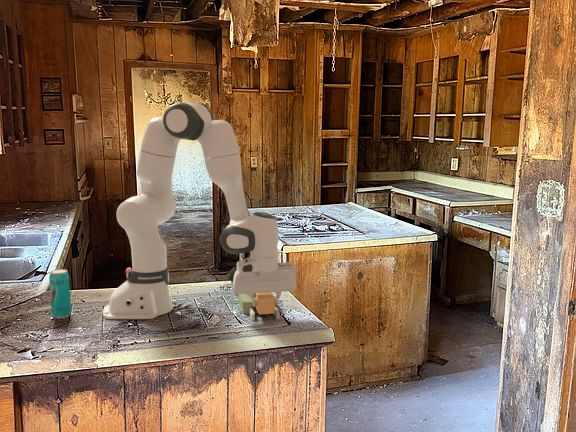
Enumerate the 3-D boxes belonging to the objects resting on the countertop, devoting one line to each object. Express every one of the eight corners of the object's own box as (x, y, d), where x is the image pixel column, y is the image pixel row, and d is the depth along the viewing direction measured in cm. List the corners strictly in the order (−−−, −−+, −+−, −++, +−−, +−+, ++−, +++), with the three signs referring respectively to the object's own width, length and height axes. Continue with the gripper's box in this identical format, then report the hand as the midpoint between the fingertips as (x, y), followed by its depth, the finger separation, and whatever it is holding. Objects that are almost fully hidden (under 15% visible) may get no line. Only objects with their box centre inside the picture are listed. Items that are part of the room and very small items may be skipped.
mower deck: (245, 321, 169) (245, 293, 167) (238, 300, 189) (237, 275, 187) (279, 318, 171) (279, 291, 170) (268, 298, 191) (268, 274, 189)
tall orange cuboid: (258, 314, 168) (258, 299, 167) (255, 307, 175) (255, 292, 174) (274, 313, 169) (274, 298, 168) (270, 306, 176) (270, 291, 175)
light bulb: (232, 296, 193) (232, 270, 191) (227, 292, 198) (226, 266, 196) (247, 294, 195) (246, 268, 194) (241, 290, 200) (240, 264, 199)
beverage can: (49, 316, 172) (45, 271, 170) (66, 312, 176) (63, 267, 174) (56, 320, 168) (53, 274, 166) (74, 316, 172) (71, 271, 170)
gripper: (294, 259, 175) (294, 300, 177) (231, 262, 171) (232, 304, 173) (298, 264, 168) (298, 306, 171) (233, 267, 164) (234, 310, 167)
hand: (264, 305), depth 172 cm, fingers closed on tall orange cuboid, 5 cm apart
